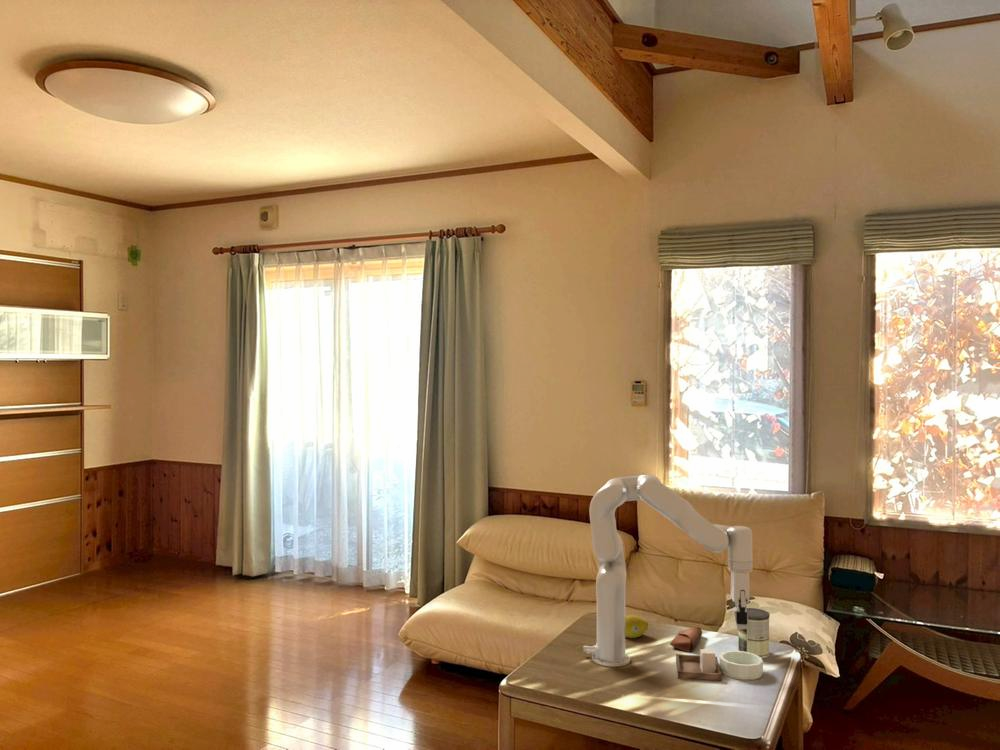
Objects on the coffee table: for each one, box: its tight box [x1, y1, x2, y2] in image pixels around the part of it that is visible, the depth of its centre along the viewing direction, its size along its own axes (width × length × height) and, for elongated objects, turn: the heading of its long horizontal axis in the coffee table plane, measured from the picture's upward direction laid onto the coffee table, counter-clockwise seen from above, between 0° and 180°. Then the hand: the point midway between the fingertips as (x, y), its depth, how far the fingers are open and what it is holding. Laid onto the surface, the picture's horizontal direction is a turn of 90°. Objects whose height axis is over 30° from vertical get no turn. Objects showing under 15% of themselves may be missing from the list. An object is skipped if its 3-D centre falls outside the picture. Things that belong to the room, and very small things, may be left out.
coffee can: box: [737, 607, 770, 659], centre depth 259 cm, size 10×10×14 cm
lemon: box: [625, 614, 649, 639], centre depth 275 cm, size 11×8×8 cm
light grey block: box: [732, 607, 750, 631], centre depth 244 cm, size 4×4×6 cm
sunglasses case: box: [669, 626, 703, 653], centre depth 269 cm, size 18×7×7 cm
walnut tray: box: [675, 653, 723, 683], centre depth 243 cm, size 13×16×2 cm
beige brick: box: [699, 648, 716, 672], centre depth 243 cm, size 4×4×6 cm
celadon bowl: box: [718, 650, 764, 681], centre depth 242 cm, size 13×13×4 cm
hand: (741, 621), depth 244 cm, fingers closed on light grey block, 3 cm apart
